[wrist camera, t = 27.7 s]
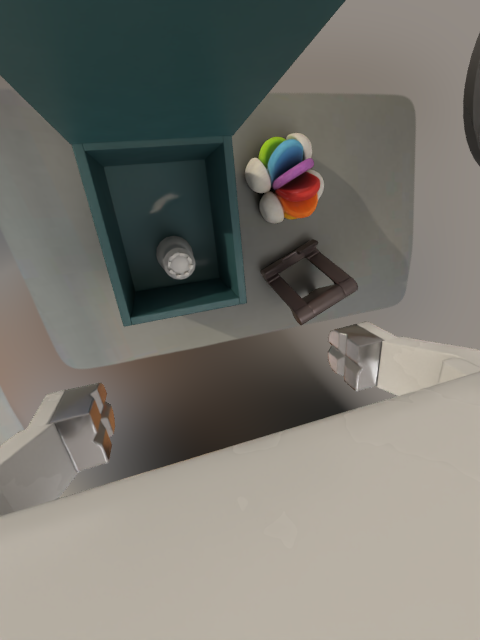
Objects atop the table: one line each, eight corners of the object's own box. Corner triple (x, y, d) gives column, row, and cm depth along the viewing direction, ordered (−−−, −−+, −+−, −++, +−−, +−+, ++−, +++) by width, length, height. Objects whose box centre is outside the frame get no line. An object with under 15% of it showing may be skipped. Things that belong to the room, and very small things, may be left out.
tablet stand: (310, 237, 41) (346, 244, 33) (327, 283, 44) (363, 298, 37) (259, 269, 40) (283, 283, 33) (280, 312, 44) (306, 334, 36)
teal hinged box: (224, 280, 39) (247, 303, 30) (130, 296, 36) (123, 327, 27) (209, 152, 33) (231, 131, 24) (94, 159, 30) (69, 139, 21)
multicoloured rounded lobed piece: (266, 232, 38) (289, 237, 32) (233, 160, 34) (252, 149, 28) (318, 200, 39) (351, 199, 32) (291, 125, 35) (324, 106, 28)
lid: (367, -25, 9) (375, -285, 7) (-151, -71, 6) (-339, -523, 4) (233, 135, 24) (225, 64, 22) (70, 144, 21) (47, 63, 19)
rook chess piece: (166, 277, 36) (170, 294, 29) (149, 244, 34) (148, 254, 27) (198, 262, 36) (209, 275, 29) (182, 229, 35) (190, 235, 27)
